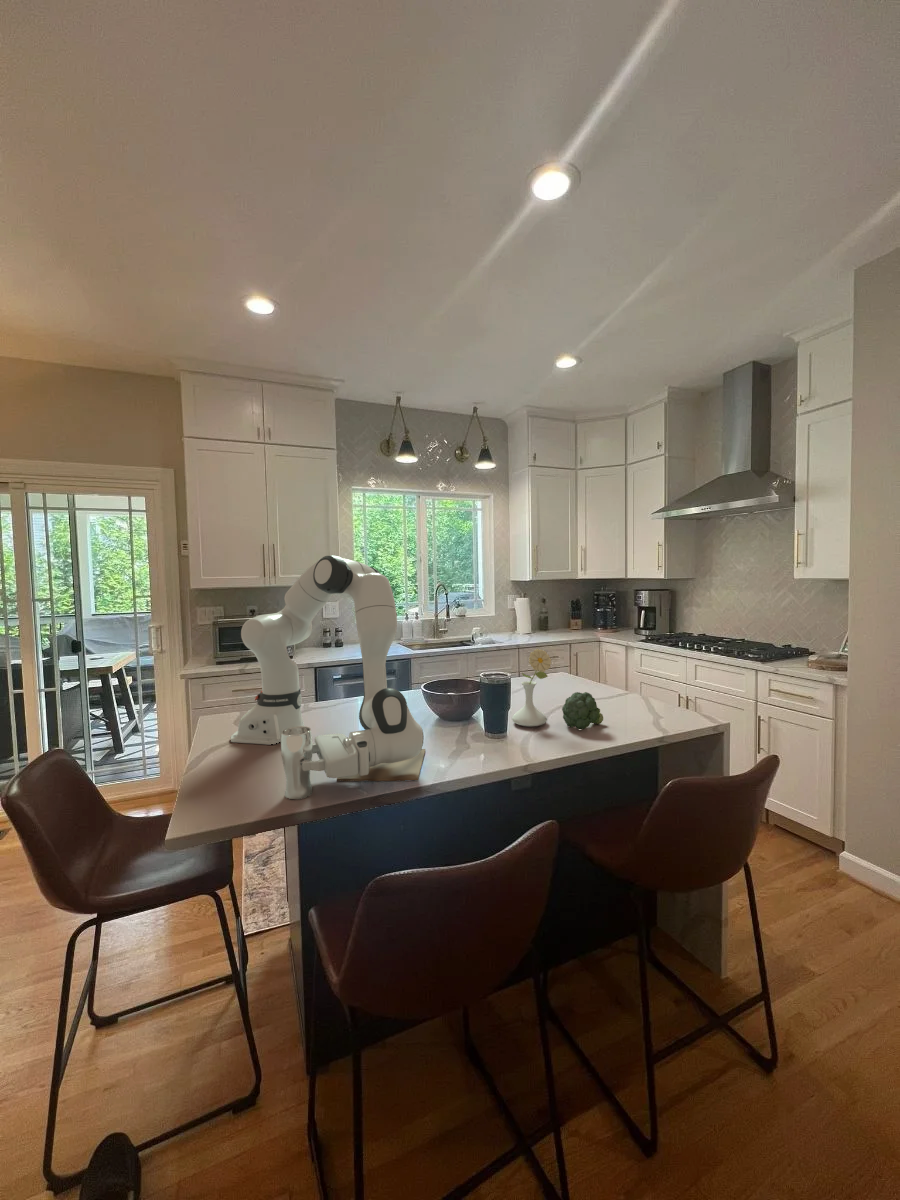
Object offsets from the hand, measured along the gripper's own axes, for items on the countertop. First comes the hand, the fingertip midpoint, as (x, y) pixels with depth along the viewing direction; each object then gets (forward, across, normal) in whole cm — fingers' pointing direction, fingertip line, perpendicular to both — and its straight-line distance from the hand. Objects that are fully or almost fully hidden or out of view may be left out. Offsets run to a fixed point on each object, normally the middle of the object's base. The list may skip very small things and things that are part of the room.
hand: (299, 759), depth 115 cm
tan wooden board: (-22, -8, +8) cm, 25 cm away
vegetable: (-88, -10, +8) cm, 89 cm away
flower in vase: (-76, -20, +8) cm, 79 cm away
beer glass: (0, 0, +8) cm, 8 cm away
